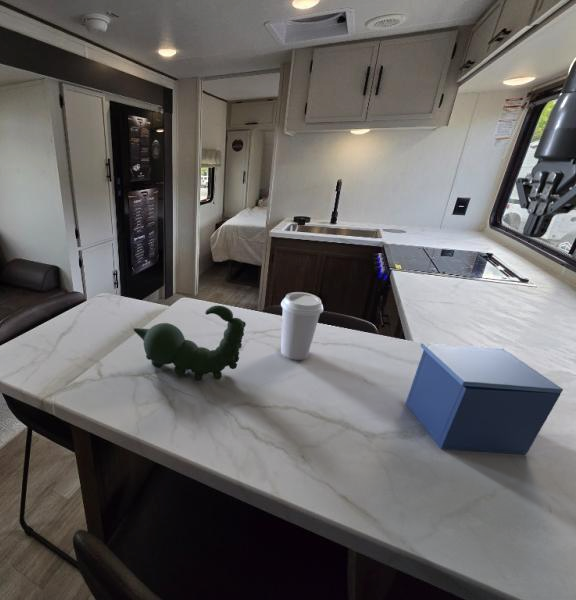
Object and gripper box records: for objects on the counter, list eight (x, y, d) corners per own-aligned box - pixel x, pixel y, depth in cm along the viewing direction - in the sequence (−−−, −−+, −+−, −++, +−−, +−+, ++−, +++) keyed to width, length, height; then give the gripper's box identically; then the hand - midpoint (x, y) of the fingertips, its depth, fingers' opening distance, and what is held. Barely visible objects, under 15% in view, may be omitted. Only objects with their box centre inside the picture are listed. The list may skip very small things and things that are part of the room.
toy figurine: (237, 374, 81) (140, 348, 87) (251, 302, 72) (143, 280, 79) (229, 399, 72) (123, 369, 79) (244, 322, 64) (125, 295, 71)
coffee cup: (298, 340, 92) (306, 288, 85) (322, 359, 83) (334, 303, 77) (267, 346, 89) (274, 293, 83) (289, 366, 81) (298, 309, 74)
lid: (461, 385, 53) (463, 381, 53) (420, 346, 63) (421, 342, 63) (561, 393, 52) (563, 389, 52) (501, 352, 62) (503, 348, 62)
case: (440, 449, 58) (466, 388, 53) (405, 403, 69) (423, 349, 64) (526, 454, 57) (561, 393, 52) (477, 407, 68) (501, 352, 62)
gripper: (656, 122, 46) (593, 246, 53) (564, 128, 58) (523, 228, 65) (596, 123, 47) (542, 245, 54) (517, 128, 59) (481, 228, 66)
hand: (531, 236), depth 60 cm, fingers closed
